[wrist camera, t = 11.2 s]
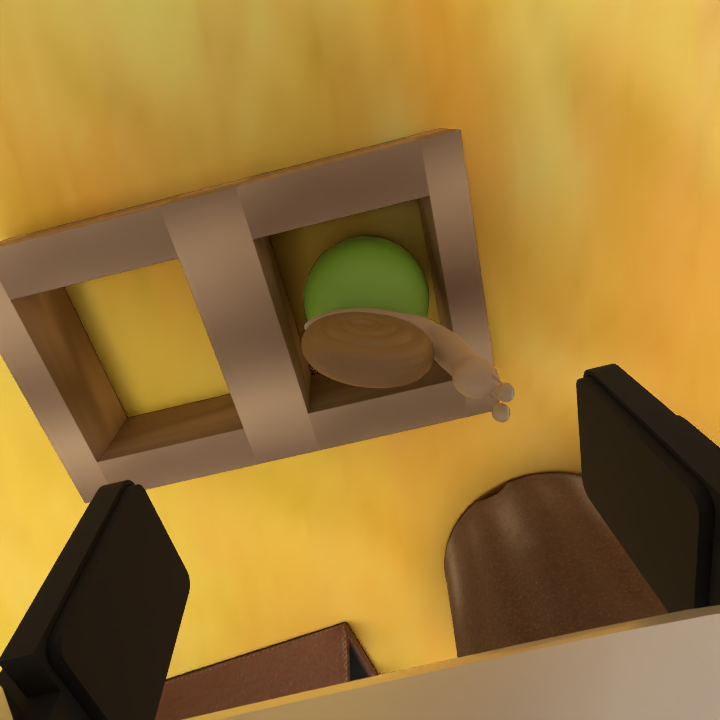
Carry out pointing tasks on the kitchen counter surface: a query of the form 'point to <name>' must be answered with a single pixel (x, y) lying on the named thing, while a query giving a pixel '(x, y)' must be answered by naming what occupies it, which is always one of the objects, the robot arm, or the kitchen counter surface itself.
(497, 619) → the plant pot
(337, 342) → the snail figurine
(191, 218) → the brown wooden flat frame
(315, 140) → the kitchen counter surface
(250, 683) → the letter holder
